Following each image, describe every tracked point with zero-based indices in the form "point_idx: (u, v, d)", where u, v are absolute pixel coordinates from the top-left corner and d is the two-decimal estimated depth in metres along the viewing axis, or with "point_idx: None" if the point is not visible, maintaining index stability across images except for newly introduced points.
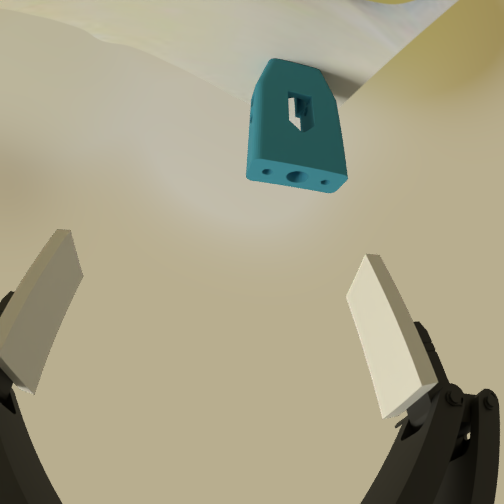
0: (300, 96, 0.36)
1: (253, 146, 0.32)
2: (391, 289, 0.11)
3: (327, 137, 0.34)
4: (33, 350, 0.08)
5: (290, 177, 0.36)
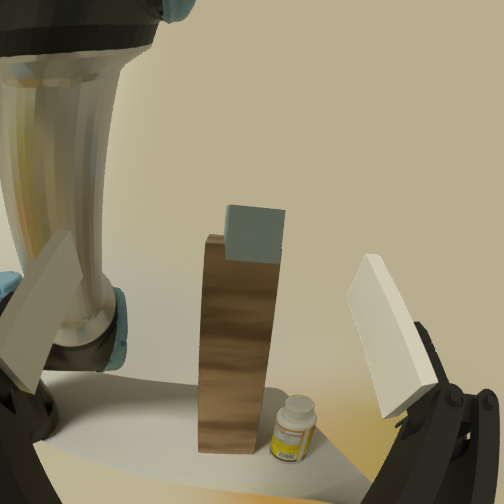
0: None
1: None
2: (391, 289, 0.11)
3: None
4: (33, 350, 0.08)
5: None
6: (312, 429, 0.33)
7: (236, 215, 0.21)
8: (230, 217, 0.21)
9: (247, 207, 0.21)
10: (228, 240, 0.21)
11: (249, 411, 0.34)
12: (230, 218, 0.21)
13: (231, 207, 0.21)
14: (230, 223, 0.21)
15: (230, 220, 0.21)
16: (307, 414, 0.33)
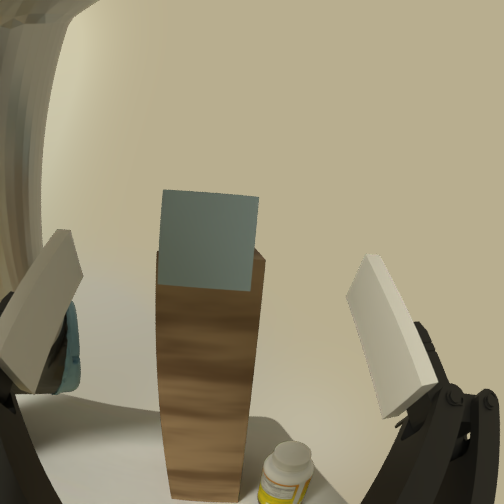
0: None
1: None
2: (391, 289, 0.11)
3: None
4: (33, 350, 0.08)
5: None
6: (308, 481, 0.24)
7: (172, 208, 0.12)
8: (162, 211, 0.12)
9: (191, 193, 0.12)
10: (160, 251, 0.12)
11: (229, 461, 0.24)
12: (162, 213, 0.12)
13: (164, 194, 0.12)
14: (163, 222, 0.12)
15: (162, 216, 0.12)
16: (302, 466, 0.23)
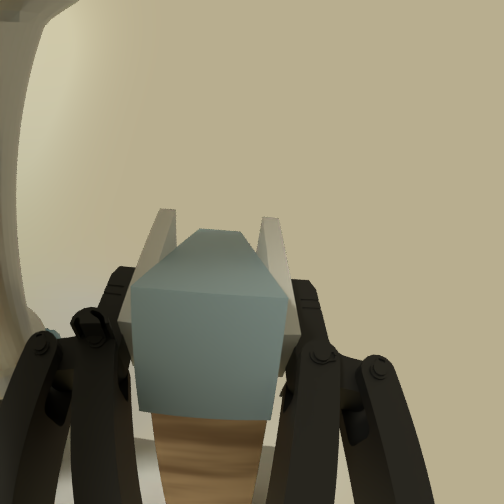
0: None
1: None
2: (277, 246, 0.12)
3: None
4: None
5: None
6: None
7: (148, 316, 0.07)
8: (134, 319, 0.07)
9: (176, 294, 0.07)
10: (137, 374, 0.07)
11: None
12: (134, 322, 0.07)
13: (133, 293, 0.07)
14: (136, 334, 0.07)
15: (134, 328, 0.07)
16: None
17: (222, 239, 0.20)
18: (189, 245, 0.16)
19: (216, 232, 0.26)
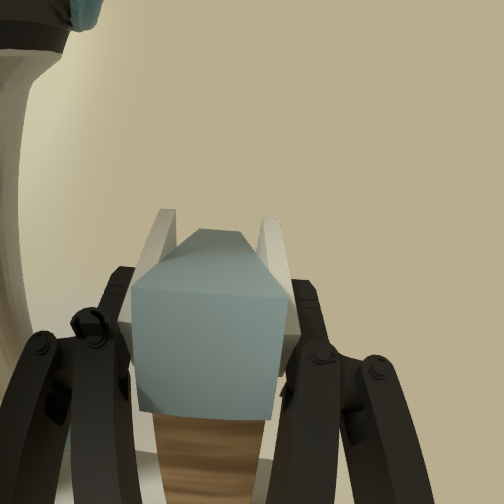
0: None
1: None
2: (277, 246, 0.12)
3: None
4: None
5: None
6: None
7: (148, 317, 0.07)
8: (134, 320, 0.07)
9: (177, 294, 0.07)
10: (137, 374, 0.07)
11: None
12: (134, 323, 0.07)
13: (133, 293, 0.07)
14: (136, 335, 0.07)
15: (134, 328, 0.07)
16: None
17: (222, 239, 0.20)
18: (189, 245, 0.16)
19: (216, 232, 0.26)
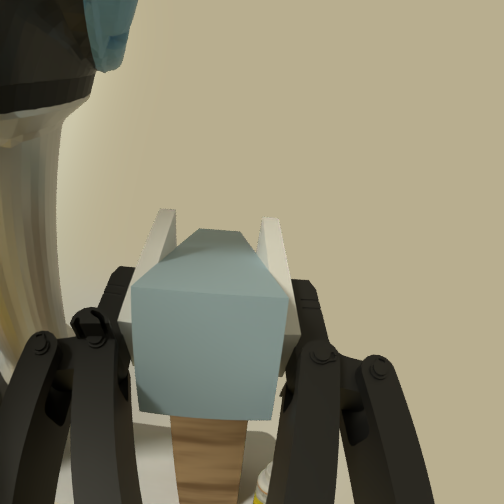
0: None
1: None
2: (277, 246, 0.12)
3: None
4: None
5: None
6: None
7: (148, 317, 0.07)
8: (134, 320, 0.07)
9: (177, 294, 0.07)
10: (137, 374, 0.07)
11: (229, 476, 0.28)
12: (134, 323, 0.07)
13: (133, 293, 0.07)
14: (136, 335, 0.07)
15: (134, 328, 0.07)
16: None
17: (222, 239, 0.20)
18: (189, 245, 0.16)
19: (216, 232, 0.26)
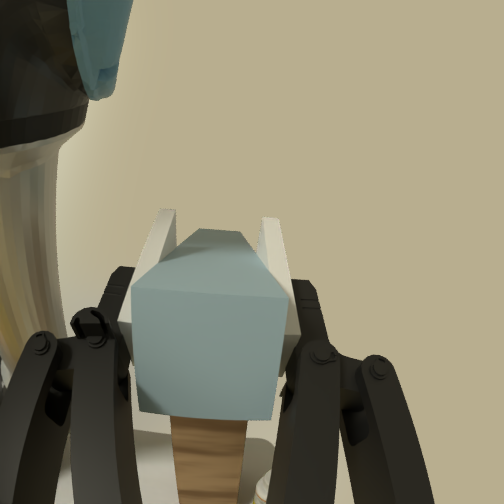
0: None
1: None
2: (277, 246, 0.12)
3: None
4: None
5: None
6: None
7: (148, 317, 0.07)
8: (134, 320, 0.07)
9: (177, 294, 0.07)
10: (137, 374, 0.07)
11: (228, 484, 0.28)
12: (134, 323, 0.07)
13: (133, 293, 0.07)
14: (136, 335, 0.07)
15: (134, 328, 0.07)
16: None
17: (222, 239, 0.20)
18: (189, 245, 0.16)
19: (216, 232, 0.26)
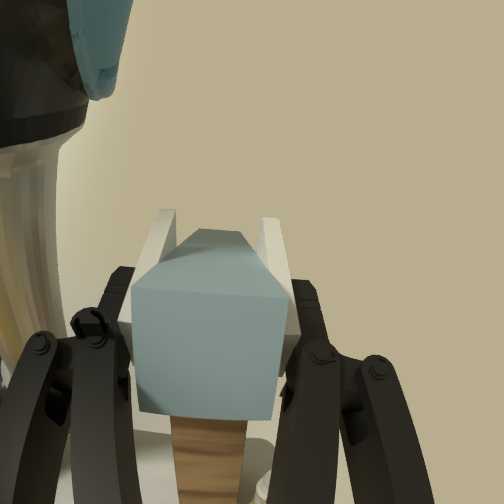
0: None
1: None
2: (277, 246, 0.12)
3: None
4: None
5: None
6: None
7: (148, 317, 0.07)
8: (134, 320, 0.07)
9: (177, 294, 0.07)
10: (137, 374, 0.07)
11: (228, 484, 0.28)
12: (134, 323, 0.07)
13: (133, 293, 0.07)
14: (136, 335, 0.07)
15: (134, 328, 0.07)
16: None
17: (222, 239, 0.20)
18: (189, 245, 0.16)
19: (216, 232, 0.26)
